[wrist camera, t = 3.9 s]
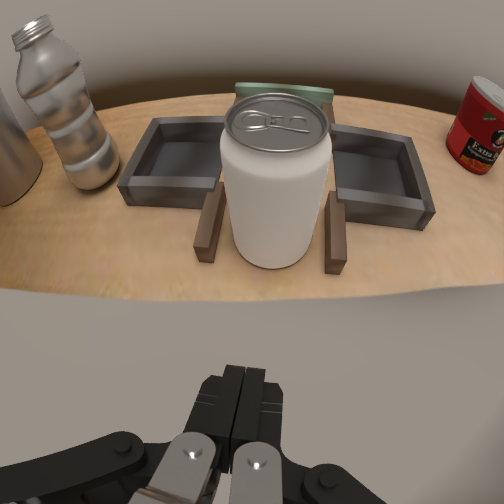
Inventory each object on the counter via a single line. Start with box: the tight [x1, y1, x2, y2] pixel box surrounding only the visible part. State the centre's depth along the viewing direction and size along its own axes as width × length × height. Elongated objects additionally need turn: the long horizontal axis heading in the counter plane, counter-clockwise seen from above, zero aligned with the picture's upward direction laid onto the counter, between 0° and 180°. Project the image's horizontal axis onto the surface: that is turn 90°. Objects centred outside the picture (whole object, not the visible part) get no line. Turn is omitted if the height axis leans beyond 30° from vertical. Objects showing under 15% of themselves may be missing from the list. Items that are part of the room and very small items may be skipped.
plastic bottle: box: [11, 14, 120, 190], centre depth 21 cm, size 6×7×20 cm
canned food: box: [447, 76, 504, 174], centre depth 26 cm, size 8×8×11 cm
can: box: [220, 93, 332, 269], centre depth 20 cm, size 6×6×12 cm
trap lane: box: [117, 83, 436, 275], centre depth 27 cm, size 29×22×4 cm
